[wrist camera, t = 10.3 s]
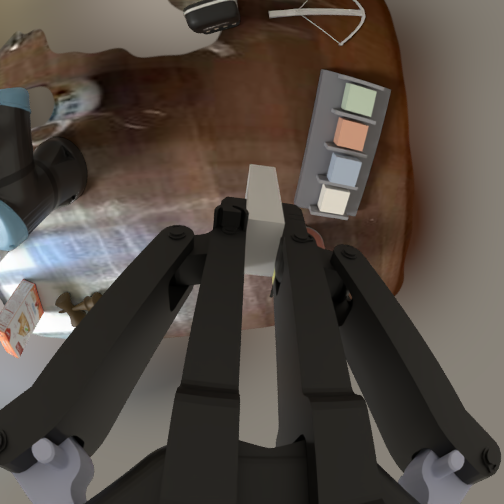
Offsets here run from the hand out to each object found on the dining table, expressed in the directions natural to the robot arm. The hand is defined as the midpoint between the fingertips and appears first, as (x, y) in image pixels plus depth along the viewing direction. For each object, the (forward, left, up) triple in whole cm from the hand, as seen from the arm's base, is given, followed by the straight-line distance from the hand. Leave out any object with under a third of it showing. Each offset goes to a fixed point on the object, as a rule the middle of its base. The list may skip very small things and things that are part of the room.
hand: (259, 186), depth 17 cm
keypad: (+15, -3, -32) cm, 36 cm away
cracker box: (-65, -56, -33) cm, 92 cm away
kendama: (-44, -53, -33) cm, 76 cm away
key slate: (+15, -6, -29) cm, 33 cm away
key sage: (+15, +6, -30) cm, 34 cm away
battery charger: (-8, +15, -33) cm, 37 cm away
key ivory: (+15, -12, -30) cm, 35 cm away
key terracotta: (+15, 0, -30) cm, 33 cm away
